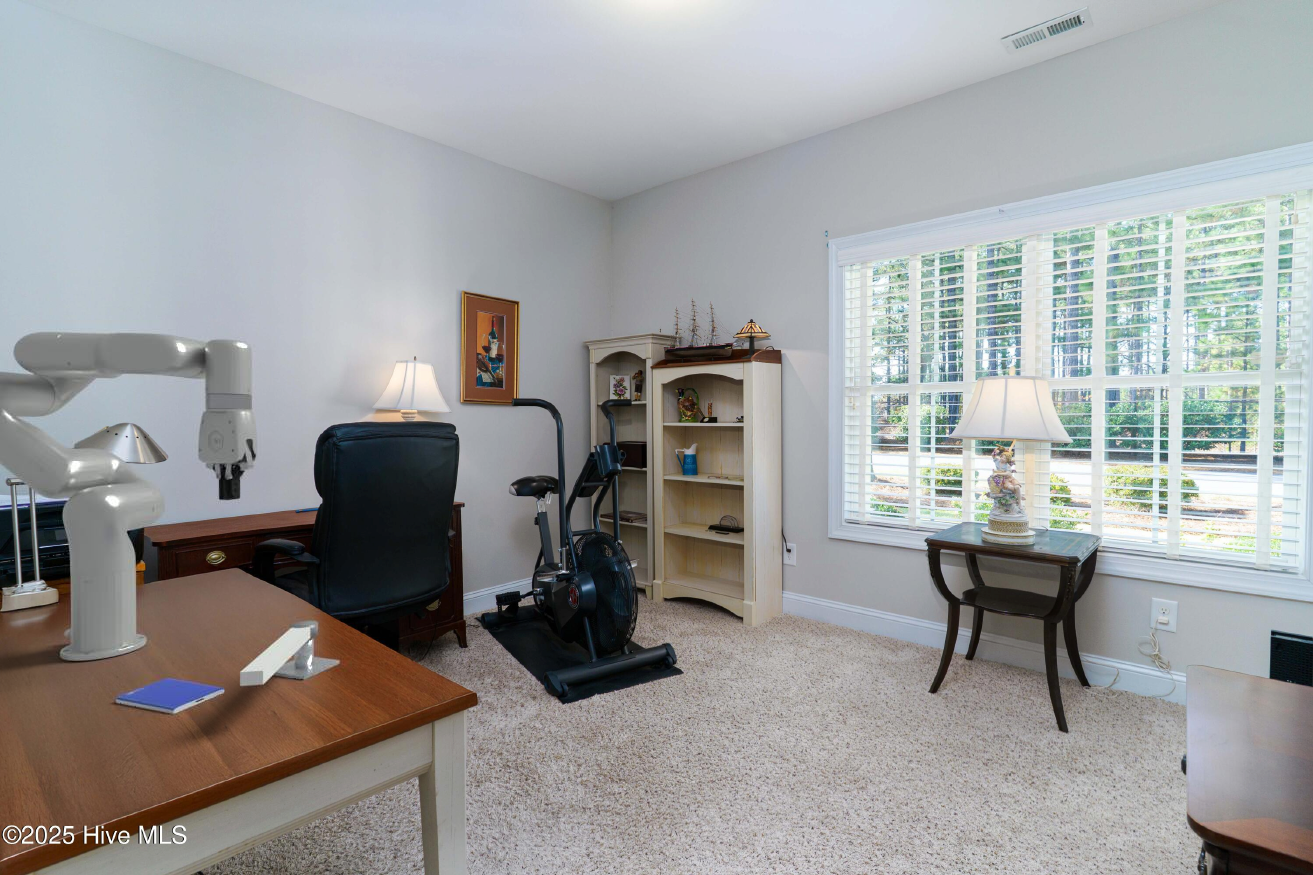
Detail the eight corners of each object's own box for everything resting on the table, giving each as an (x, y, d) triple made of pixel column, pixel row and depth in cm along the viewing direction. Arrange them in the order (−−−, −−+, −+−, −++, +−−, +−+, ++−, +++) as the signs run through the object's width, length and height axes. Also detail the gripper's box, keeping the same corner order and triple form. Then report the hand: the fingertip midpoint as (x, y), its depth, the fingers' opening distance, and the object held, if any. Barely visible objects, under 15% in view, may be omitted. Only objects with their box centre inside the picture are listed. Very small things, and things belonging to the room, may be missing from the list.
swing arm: (294, 632, 117) (294, 621, 117) (321, 630, 118) (321, 619, 118) (234, 686, 93) (234, 672, 93) (268, 683, 93) (268, 670, 93)
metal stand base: (267, 674, 112) (267, 641, 112) (304, 658, 120) (304, 628, 120) (303, 679, 110) (303, 646, 110) (339, 663, 118) (339, 632, 118)
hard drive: (115, 696, 101) (173, 707, 97) (169, 676, 109) (224, 686, 105) (116, 706, 101) (173, 717, 97) (169, 686, 109) (224, 695, 105)
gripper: (180, 404, 123) (181, 500, 123) (241, 403, 119) (241, 503, 119) (217, 405, 130) (218, 496, 131) (276, 405, 126) (276, 498, 126)
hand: (229, 499), depth 125 cm, fingers closed
